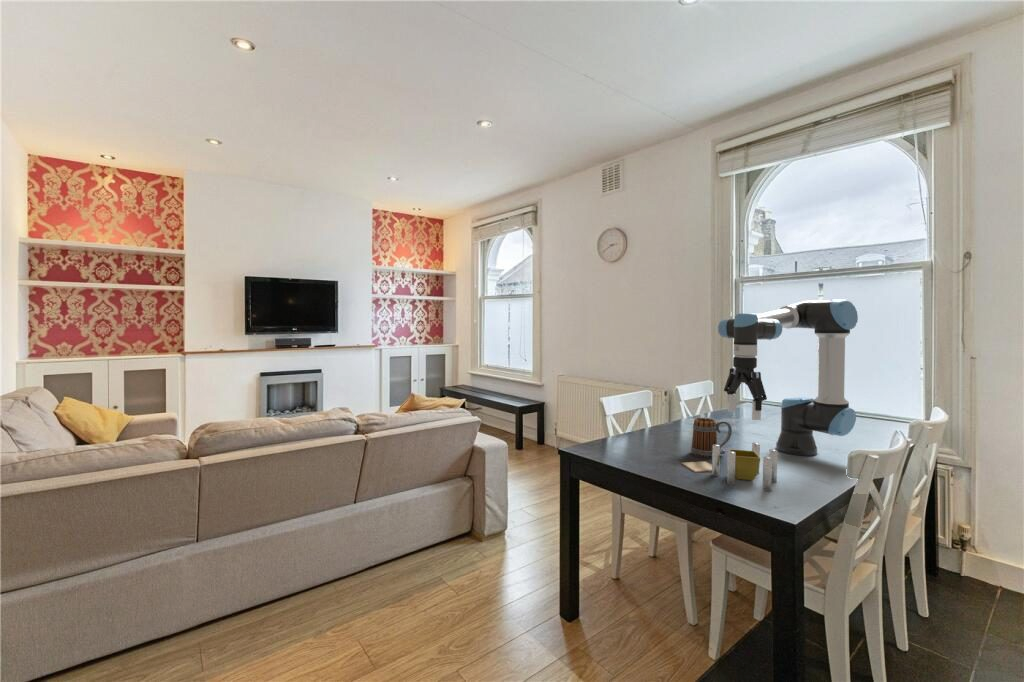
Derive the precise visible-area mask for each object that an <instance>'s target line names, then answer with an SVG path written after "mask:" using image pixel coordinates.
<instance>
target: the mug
mask: <svg viewBox="0 0 1024 682" xmlns="http://www.w3.org/2000/svg"><path fill="white" fill-rule="evenodd" d="M721 425H726V426H727V429H728V430H727V431H728V432H727V435H726V438H724V440H722V441H721V442H720V443H719V444H718V441H717V439H718V438H717V433H719V434H720V433H721V432H722V431H721V430H720V426H721ZM692 429H693V430H692V440H691V446H690V452H691V455H692V456H694V457H697V458H701V459H702V458H703V459H712V452H713V444H717V445H720V455H725V454H726V450H725V449H722V447H724V446H725V445H726V444H727V443H728V442H729V440H730V439H731V436H732V433H733V432H732V431H733V430H732V426H731V424H730V423H729V422H728V421H726V420H719V421H717V422H716V420H715V419H713V418H710V417H696V418H694V420H693V426H692ZM721 449H722V450H721Z"/></svg>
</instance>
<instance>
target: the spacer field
mask: <svg viewBox="0 0 1024 682" xmlns="http://www.w3.org/2000/svg"><path fill="white" fill-rule="evenodd" d="M760 443H761V442H755V441H753V442H752V443H751V451H755V452H756V454H757V455H758V456H759V457H760V455H761V453H760V450H761V444H760ZM720 451H721V449H720V445H719V444H718V443H717V444H713V452H712V458H711V459H712V460H711V461H712V463H711V465H712V473H711V475H712V476H714V477H715V476H716V477H720V475H721V474H720V473H721V472H720V471H721V469H720V467H721V466H720V465H721V463H720V461H721V454H720ZM760 458H761V457H760ZM735 459H736V453H735V452H733V451H729V450H728V451H727V463H726V464H727V465H726V467H727V469H726V471H727V472H726V484H728V485H731V486H734V485H736V476H735ZM762 461H763V462H762V490H763V491H764V492H768V493H769V492H772V483H777V481H778V480H777V479H778V476H777V475H778V450H777V449H776V448H775V449H773V448H770V449H769V451H768V456H763V460H762ZM758 474H760V468H759V469H758V473H757V475H758Z"/></svg>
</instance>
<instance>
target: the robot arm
mask: <svg viewBox="0 0 1024 682" xmlns="http://www.w3.org/2000/svg"><path fill="white" fill-rule="evenodd" d="M858 320H859V317H858V311H857V308H856V307H855V305H854V304H853V303H852V301H849V300H847V299H840V298H839V299H836V298H835V299H821V300H820V299H819V300H818V299H815V300H805V301H801V302H796V303H792V304H788V305H784V306H782V307H780V308H779V309H775V310H771V311H767V312H762V313H754V312H753V313H751V312H750V313H749V312H748V313H747V312H746V313H742V312H741V313H735V315H734V318H727V319H726V318H725V319H722V320H721V321H720V322H719V323H718V325H717V326H718V327H717V331H718V332H717V333H718V334H719V336H721V338H725V339H733V359H732V366H733V367H730V368H729V373H728V376H727V380H726V382H725V386H724V389H723V391H724V392H726V394H727V404H728V405H727V412H728V413H736V412H737V390H738V388H739V387H740V385H741V384H742V383H743V384H745V385H746V386H747V387H748V390H749V392H750V394H751V396H752V398H753V400H752V401H751V402H752V404H751V405H752V408H751V413H752V414H751V420H752V421H761V419H762V409H763V408H762V405H763V404H762V403H763V401H766V400H767V399H768V397H767V395H766V390H765V388H764V385H763V381H762V374H761V372H760V371H755V370H754V369H756V368H757V365H758V364H757V363H758V358H757V357H756V356H758V340H768V341H770V340H776V339H778V338H779V337H780V336H781V335H782V333H783V328H785V329H787V330H788V329H796V328H798V329H814V334H815V335H816V336H817V337H818V380H817V381H818V385H817V386H818V391H817V394H818V395H817V396H816V397H815V398H812V397H787V398H783V400H782V402H781V407H780V409H781V414H780V416H781V417H780V423H781V425H780V433H779V435H778V438H777V441H776V443H775V450H777V451H778V452H782V453H786V454H788V455H789V454H790V455H795V456H805V457H806V456H815V455H817V454H818V447H817V445H816V441H815V437H814V433H813V432H819V433H823V434H828V435H830V436H836V437H837V436H839V437H844V436H846V435H848V434H850V432H851V431H852V430H853V429H854V427H855V424H856V421H857V413H856V412H855V410H854V409H853V408H852V407H849V406H850V405H849V404H850V402H849V401H848V400H847V399H846V398H845V374H846V373H845V369H846V368H845V367H846V366H845V365H846V363H845V361H846V360H845V358H846V338H847V336H849V335H850V334H851V330H852V329H854V328H856V326H857V324H858Z"/></svg>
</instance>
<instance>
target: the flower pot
mask: <svg viewBox="0 0 1024 682" xmlns="http://www.w3.org/2000/svg"><path fill="white" fill-rule="evenodd" d="M728 451H733V452H735V453H736V459H735V479H737V480H746V481H753V480H754V479H755V478H756V476H757V475H758V474H759V473H758V469H759V470H760V465H761V464H760V463H761V457H759V456H758V455H757V454H756V452H755V451H752V450H745V449H743V450H742V449H728ZM757 473H758V474H757Z"/></svg>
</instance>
